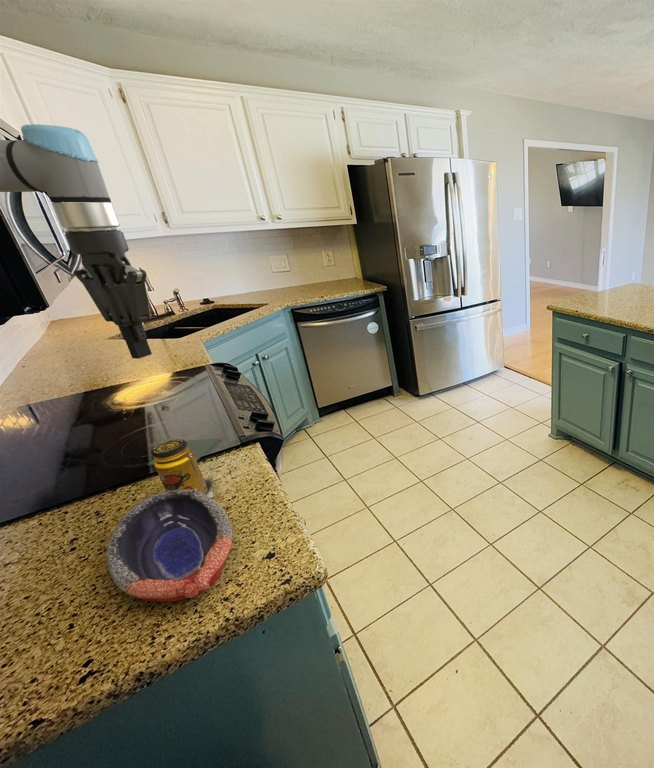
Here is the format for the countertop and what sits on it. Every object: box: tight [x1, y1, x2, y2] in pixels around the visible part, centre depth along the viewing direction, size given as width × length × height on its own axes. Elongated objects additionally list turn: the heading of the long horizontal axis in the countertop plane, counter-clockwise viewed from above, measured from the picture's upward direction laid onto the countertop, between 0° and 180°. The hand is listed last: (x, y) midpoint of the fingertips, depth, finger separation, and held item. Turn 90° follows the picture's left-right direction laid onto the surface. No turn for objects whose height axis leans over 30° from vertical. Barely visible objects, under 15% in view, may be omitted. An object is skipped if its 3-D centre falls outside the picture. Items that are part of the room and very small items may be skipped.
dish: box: [106, 489, 234, 602], centre depth 67 cm, size 16×31×5 cm, turn 45°
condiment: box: [151, 438, 214, 498], centre depth 80 cm, size 7×8×12 cm
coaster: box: [147, 437, 220, 467], centre depth 96 cm, size 10×10×1 cm
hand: (142, 356), depth 81 cm, fingers closed
